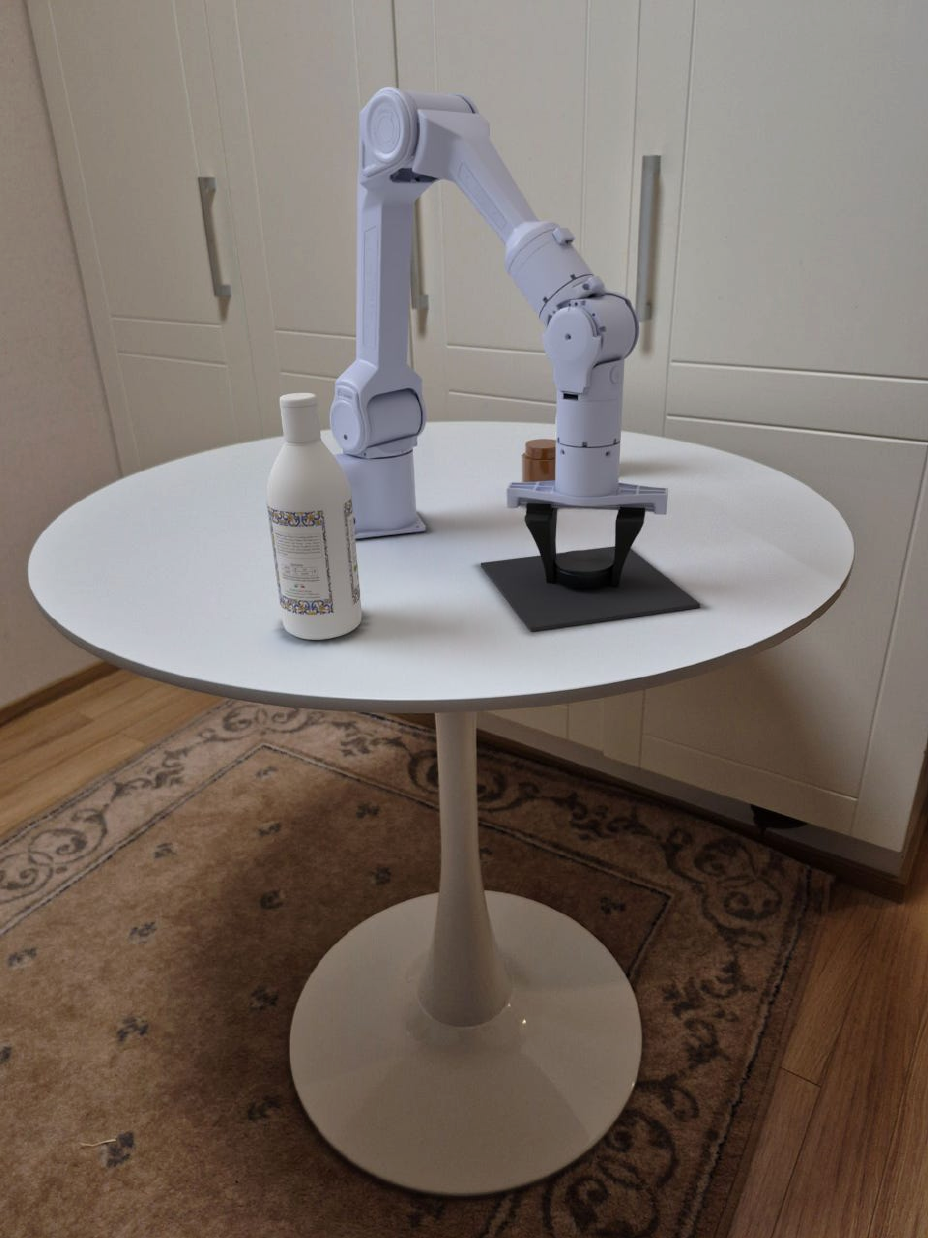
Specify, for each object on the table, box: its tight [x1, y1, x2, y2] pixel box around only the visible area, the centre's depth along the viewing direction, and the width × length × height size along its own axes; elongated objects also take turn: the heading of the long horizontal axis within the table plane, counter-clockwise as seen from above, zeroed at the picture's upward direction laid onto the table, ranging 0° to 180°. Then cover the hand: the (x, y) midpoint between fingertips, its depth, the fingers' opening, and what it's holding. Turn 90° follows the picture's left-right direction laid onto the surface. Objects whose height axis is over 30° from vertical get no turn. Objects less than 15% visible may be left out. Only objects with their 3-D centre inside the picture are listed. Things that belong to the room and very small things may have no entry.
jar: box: [521, 438, 556, 482], centre depth 105 cm, size 5×5×7 cm
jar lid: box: [554, 549, 614, 588], centre depth 82 cm, size 6×6×2 cm
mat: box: [480, 545, 701, 632], centre depth 82 cm, size 16×16×1 cm
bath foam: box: [266, 392, 363, 641], centre depth 72 cm, size 7×7×20 cm
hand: (583, 581), depth 82 cm, fingers closed on jar lid, 5 cm apart
